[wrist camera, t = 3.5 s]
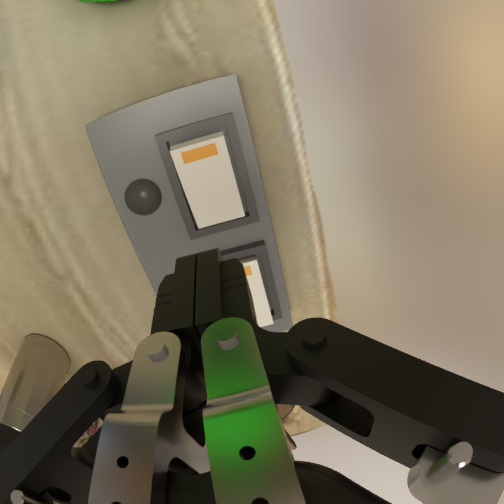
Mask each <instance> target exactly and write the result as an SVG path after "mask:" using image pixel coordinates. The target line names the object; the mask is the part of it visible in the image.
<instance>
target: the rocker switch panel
mask: <svg viewBox="0 0 504 504" xmlns="http://www.w3.org/2000/svg"><path fill="white" fill-rule="evenodd" d="M85 128H86V131H87V134H88V137H89V139H90V142H91V145H92V148H93V151H94V153H95V156H96V159H97V162H98V164H99V167H100V169H101V172H102V175H103V177H104V180H105V182H106V185H107V187H108V190H109V192H110V195H111V197H112V199H113V202H114V204H115V207H116V209H117V211H118V214H119V216H120V218H121V220H122V223H123V225H124V227H125V230H126V232H127V234H128V236H129V238H130V241H131V243H132V245H133V247H134V249H135V251H136V253H137V255H138V258H139V260H140V262H141V264H142V266H143V268H144V270H145V272H146V274H147V276H148V278H149V280H150V282H151V284H152V286H153V288H154V290H155V292H156V294H157V293H158V287H159V285H160V283H161V282H162V280H163V279H164V277H165V276H166V275H169V274H173V273H174V271H175V264H176V259H177V258H179V257H183V256H187V255H191V254H195V253H197V254H198V252H202V251H206V250H210V249H214V248H219V250H220V253H221V256H222V259H223V261H225V260H229V259H233V258H236V259H237V260H240V259H243V258H247V257H251V256H255V255H256V259H257V262H258V266H259V270H260V274H261V278H262V281H263V285H264V289H265V293H266V297H267V300H268V304H269V308H270V312H271V316H272V319H273V323H274V324H271V325H267V326H263V327H261V328H263V329H264V330H267V331H271V332H280V331H284V330H288V329H291V328H292V327H293V323H292V318H291V313H290V308H289V304H288V299H287V294H286V289H285V284H284V279H283V275H282V270H281V265H280V261H279V256H278V251H277V247H276V242H275V237H274V233H273V228H272V224H271V219H270V215H269V210H268V206H267V201H266V197H265V193H264V188H263V184H262V180H261V175H260V171H259V167H258V162H257V158H256V154H255V150H254V145H253V141H252V137H251V133H250V129H249V125H248V121H247V116H246V112H245V108H244V104H243V100H242V96H241V92H240V88H239V84H238V80H237V76H236V74H232V75H228V76H224V77H220V78H216V79H212V80H208V81H204V82H201V83H197V84H194V85H190V86H187V87H183V88H180V89H177V90H174V91H171V92H168V93H165V94H162V95H159V96H156V97H153V98H150V99H147V100H144V101H142V102H139V103H136V104H134V105H131V106H128V107H126V108H123V109H121V110H118V111H116V112H113V113H111V114H109V115H106V116H104V117H102V118H99V119H97V120H95V121H93V122H90V123H88V124H86V125H85ZM221 131H223V135H224V138H225V142H226V146H227V150H228V153H229V157H230V161H231V165H232V168H233V172H234V176H235V180H236V183H237V187H238V191H239V195H240V198H241V202H242V206H243V210H244V213H245V216H244V217H240V218H236V219H233V220H229V221H225V222H222V223H218V224H214V225H211V226H207V227H203V228H200V229H199V228H198V226H197V223H196V221H195V218H194V215H193V213H192V210H191V208H190V205H189V202H188V200H187V197H186V194H185V192H184V189H183V186H182V184H181V181H180V178H179V176H178V173H177V170H176V168H175V165H174V162H173V159H172V157H171V154H170V147H171V146H173V145H176V144H179V143H182V142H186V141H189V140H192V139H196V138H199V137H203V136H206V135H210V134H213V133H217V132H221Z"/></svg>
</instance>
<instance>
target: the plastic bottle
mask: <svg viewBox="0 0 504 504" xmlns="http://www.w3.org/2000/svg"><path fill="white" fill-rule="evenodd" d="M80 1H82V2H83V3H85V2H101V1H115V0H80Z"/></svg>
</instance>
